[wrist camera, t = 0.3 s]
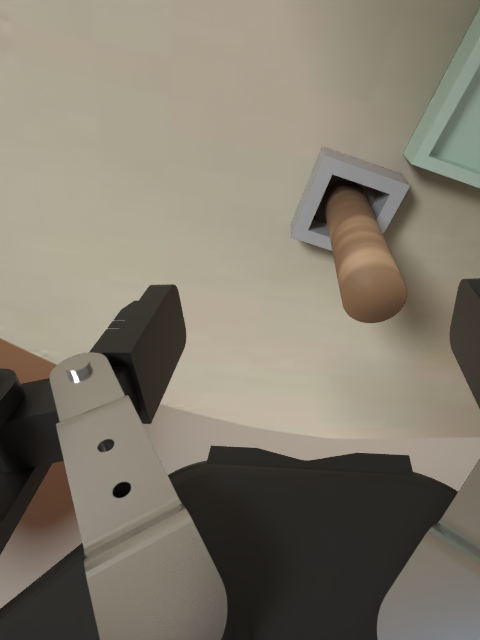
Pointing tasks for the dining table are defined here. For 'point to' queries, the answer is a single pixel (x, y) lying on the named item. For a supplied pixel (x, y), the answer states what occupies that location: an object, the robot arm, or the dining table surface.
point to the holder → (354, 170)
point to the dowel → (361, 256)
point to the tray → (453, 118)
